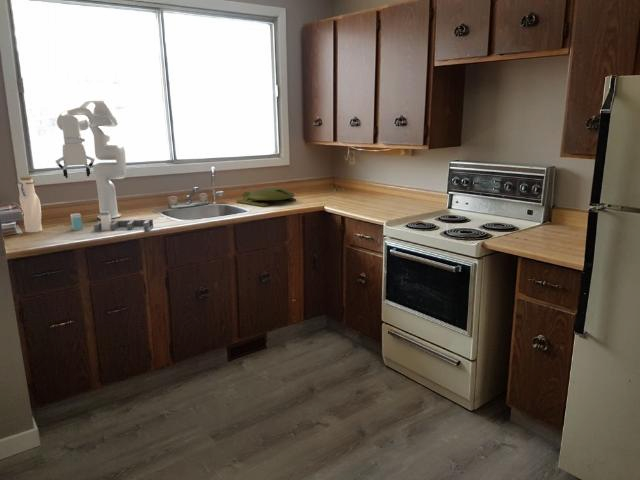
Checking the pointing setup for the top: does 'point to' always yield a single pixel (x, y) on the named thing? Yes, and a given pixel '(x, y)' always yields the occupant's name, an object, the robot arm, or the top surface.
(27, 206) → the water bottle
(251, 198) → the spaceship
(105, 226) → the white plug
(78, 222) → the teal plug
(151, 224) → the comb rack
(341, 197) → the top surface
